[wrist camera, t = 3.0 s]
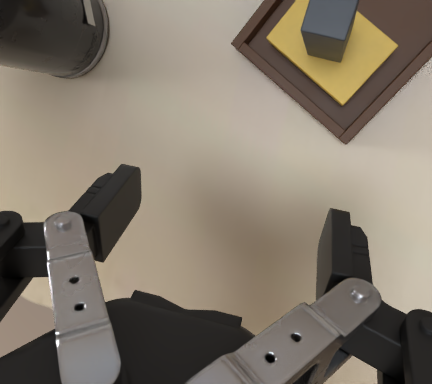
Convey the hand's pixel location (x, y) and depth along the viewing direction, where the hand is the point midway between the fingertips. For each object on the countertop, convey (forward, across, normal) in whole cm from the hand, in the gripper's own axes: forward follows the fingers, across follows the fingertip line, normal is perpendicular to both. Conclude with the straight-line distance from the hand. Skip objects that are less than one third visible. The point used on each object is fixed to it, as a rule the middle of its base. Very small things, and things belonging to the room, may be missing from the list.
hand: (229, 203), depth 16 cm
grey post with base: (+21, -4, -2) cm, 21 cm away
